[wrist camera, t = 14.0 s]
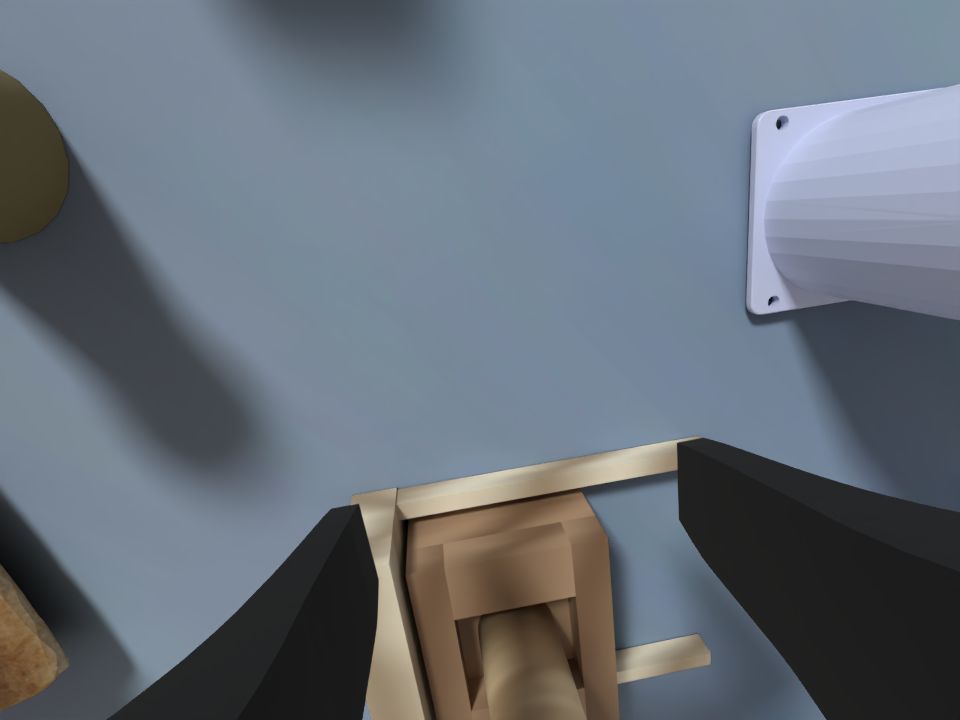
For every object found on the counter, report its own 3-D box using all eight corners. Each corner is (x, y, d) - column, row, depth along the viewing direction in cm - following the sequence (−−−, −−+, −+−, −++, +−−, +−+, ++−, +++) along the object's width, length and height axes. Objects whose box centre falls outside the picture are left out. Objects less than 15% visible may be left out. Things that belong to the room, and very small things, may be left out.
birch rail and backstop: (698, 434, 23) (771, 491, 18) (698, 646, 26) (758, 740, 22) (352, 495, 22) (331, 574, 17) (404, 707, 25) (399, 820, 21)
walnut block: (577, 484, 23) (608, 537, 19) (590, 647, 26) (619, 722, 22) (408, 514, 22) (405, 576, 18) (442, 677, 25) (445, 759, 21)
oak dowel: (537, 582, 21) (592, 753, 14) (562, 636, 22) (624, 819, 15) (466, 613, 21) (487, 798, 14) (494, 665, 22) (526, 861, 15)
